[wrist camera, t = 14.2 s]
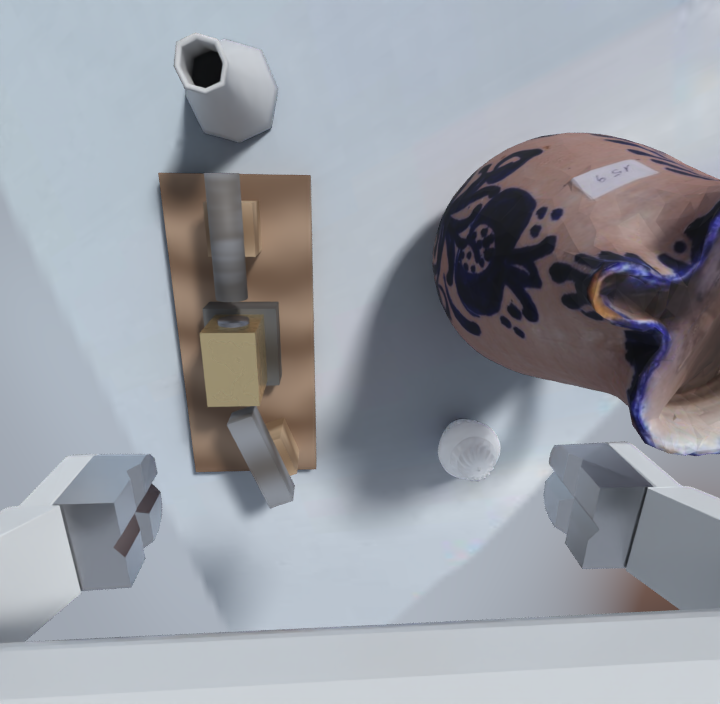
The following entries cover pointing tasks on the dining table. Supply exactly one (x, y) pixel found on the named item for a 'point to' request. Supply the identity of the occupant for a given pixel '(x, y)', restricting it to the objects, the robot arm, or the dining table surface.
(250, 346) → the tan rectangular block
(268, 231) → the shaft stand
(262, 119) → the flask
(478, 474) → the white rounded piece
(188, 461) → the dining table surface
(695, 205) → the ceramic pitcher
